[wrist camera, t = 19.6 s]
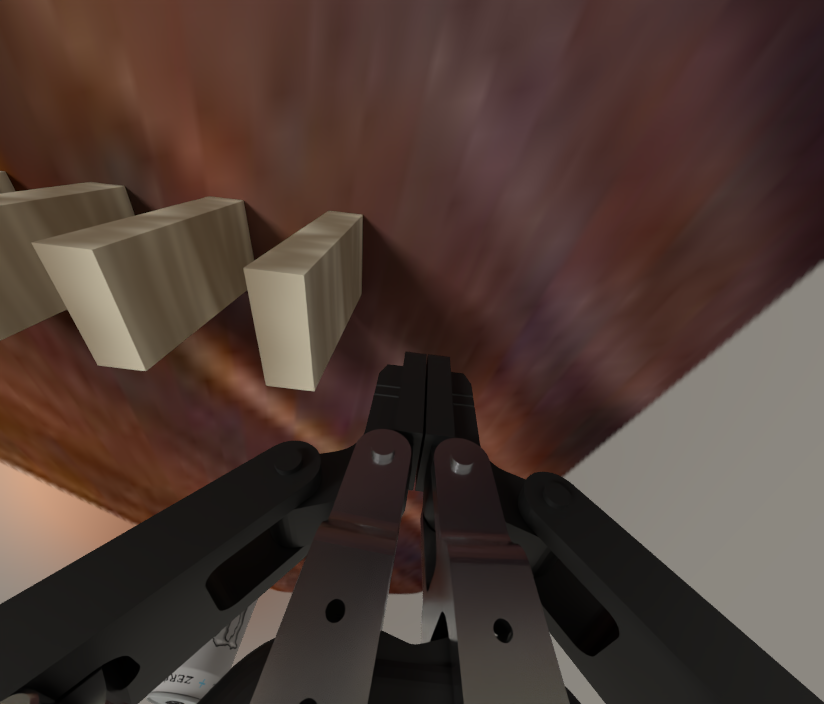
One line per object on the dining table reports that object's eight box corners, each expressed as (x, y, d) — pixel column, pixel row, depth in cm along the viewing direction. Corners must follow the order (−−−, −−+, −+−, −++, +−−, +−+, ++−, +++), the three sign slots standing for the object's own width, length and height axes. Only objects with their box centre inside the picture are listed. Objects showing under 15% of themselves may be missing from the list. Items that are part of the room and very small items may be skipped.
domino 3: (362, 214, 19) (304, 275, 11) (361, 294, 22) (314, 391, 13) (328, 210, 19) (243, 268, 11) (332, 290, 22) (266, 385, 13)
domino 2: (243, 200, 19) (91, 249, 11) (257, 281, 22) (146, 371, 13) (209, 196, 19) (31, 242, 11) (228, 278, 22) (98, 365, 13)
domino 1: (124, 186, 19) (-122, 224, 11) (153, 269, 22) (-23, 351, 13) (90, 182, 19) (-182, 217, 11) (124, 265, 22) (-71, 345, 13)
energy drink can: (294, 525, 39) (227, 709, 26) (268, 541, 41) (194, 715, 29) (251, 502, 37) (155, 691, 24) (225, 520, 39) (126, 699, 27)
